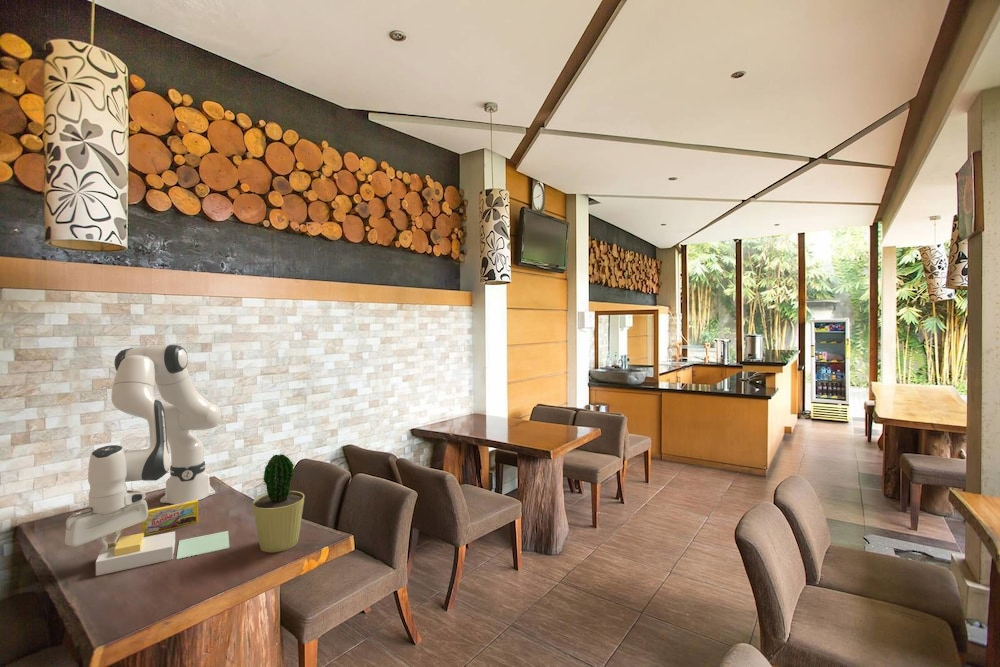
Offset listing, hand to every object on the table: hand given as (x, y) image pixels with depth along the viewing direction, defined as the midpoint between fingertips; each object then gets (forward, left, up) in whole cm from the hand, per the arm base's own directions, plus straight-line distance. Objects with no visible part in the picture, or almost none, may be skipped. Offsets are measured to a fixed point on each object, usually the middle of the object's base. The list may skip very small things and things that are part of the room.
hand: (109, 547), depth 140 cm
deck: (0, +7, -5) cm, 8 cm away
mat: (0, +24, -5) cm, 24 cm away
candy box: (-20, +14, -5) cm, 25 cm away
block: (0, +5, -1) cm, 5 cm away
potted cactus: (+12, +45, -5) cm, 47 cm away
